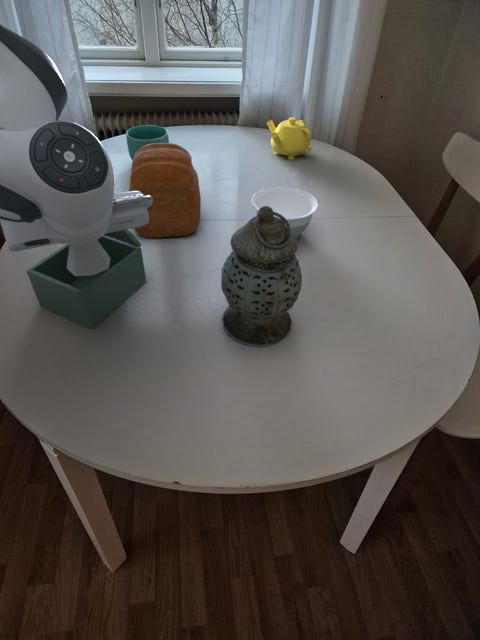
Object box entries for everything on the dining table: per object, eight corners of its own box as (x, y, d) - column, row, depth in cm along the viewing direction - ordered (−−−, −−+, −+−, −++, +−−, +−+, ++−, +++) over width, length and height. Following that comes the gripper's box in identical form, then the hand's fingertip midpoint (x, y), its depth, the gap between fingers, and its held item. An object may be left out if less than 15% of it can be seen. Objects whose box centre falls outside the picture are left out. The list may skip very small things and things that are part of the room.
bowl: (325, 231, 108) (331, 200, 102) (289, 259, 99) (293, 226, 93) (274, 210, 115) (277, 180, 110) (236, 234, 106) (237, 202, 100)
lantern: (290, 299, 88) (306, 185, 71) (297, 350, 78) (318, 232, 61) (222, 298, 88) (222, 184, 71) (220, 349, 78) (219, 229, 61)
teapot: (264, 145, 148) (266, 110, 140) (303, 144, 149) (307, 110, 141) (270, 162, 138) (272, 126, 130) (311, 162, 139) (316, 126, 131)
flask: (63, 258, 74) (47, 204, 67) (106, 248, 76) (94, 196, 69) (70, 282, 69) (53, 227, 62) (115, 271, 71) (104, 217, 64)
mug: (129, 156, 138) (124, 125, 132) (168, 153, 141) (165, 123, 134) (132, 178, 127) (127, 146, 120) (174, 175, 129) (172, 143, 123)
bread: (198, 196, 120) (196, 134, 108) (203, 238, 105) (200, 171, 93) (135, 198, 118) (125, 135, 107) (130, 241, 103) (118, 173, 91)
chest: (92, 330, 81) (81, 294, 75) (40, 306, 85) (25, 270, 79) (146, 282, 91) (141, 247, 85) (97, 263, 96) (89, 229, 90)
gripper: (148, 172, 59) (139, 204, 72) (-15, 198, 53) (8, 228, 66) (160, 216, 59) (149, 240, 73) (0, 248, 53) (19, 268, 66)
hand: (81, 235), depth 69 cm, fingers closed on flask, 3 cm apart
